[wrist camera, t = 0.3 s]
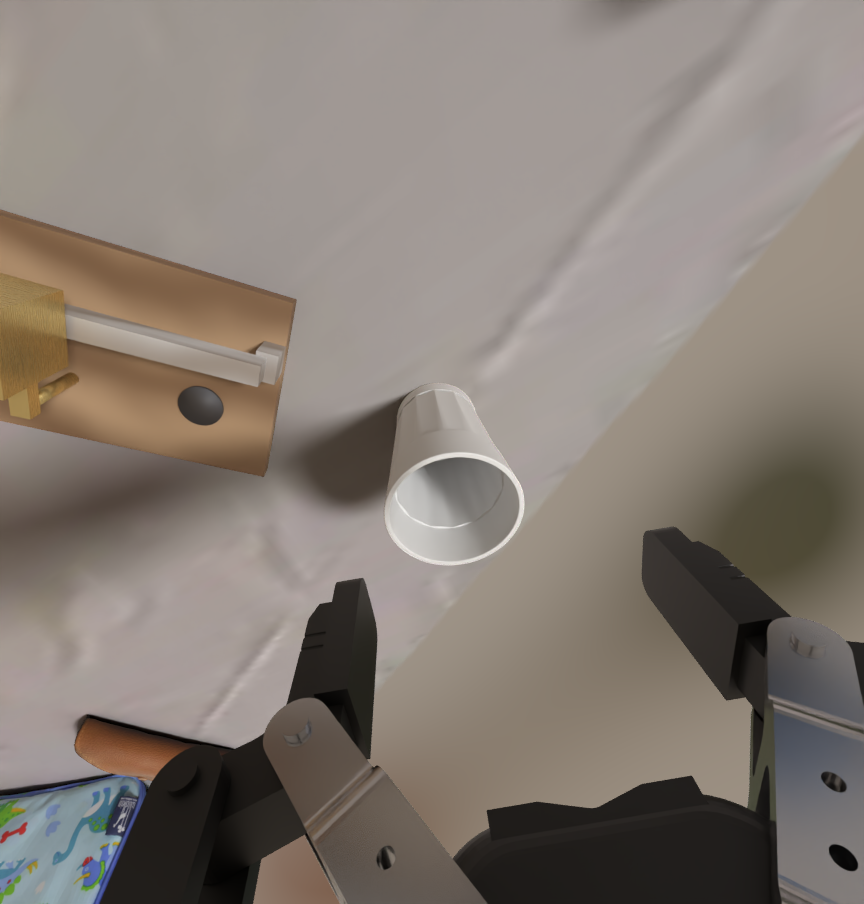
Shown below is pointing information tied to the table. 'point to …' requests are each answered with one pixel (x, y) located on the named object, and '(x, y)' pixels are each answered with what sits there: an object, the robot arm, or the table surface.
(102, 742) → the sunglasses case
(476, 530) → the cup
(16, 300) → the sliding block
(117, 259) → the board
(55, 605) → the table surface
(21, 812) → the lunch box
